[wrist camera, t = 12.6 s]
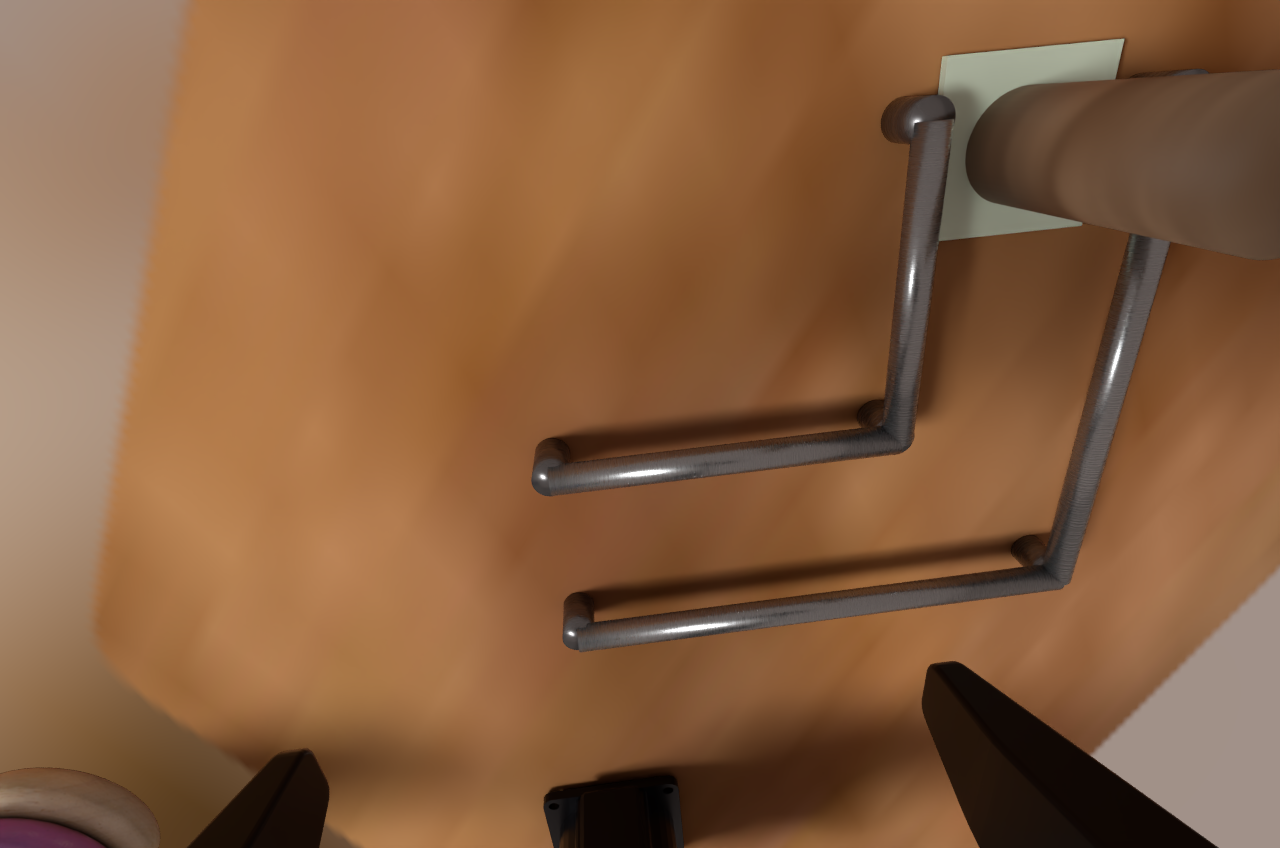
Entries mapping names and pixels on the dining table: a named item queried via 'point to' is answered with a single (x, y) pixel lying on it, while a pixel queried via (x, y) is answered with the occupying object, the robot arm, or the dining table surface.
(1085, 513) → the rails leg
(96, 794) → the stacking toy
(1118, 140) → the walnut peg
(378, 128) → the dining table surface
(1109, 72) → the sage coaster
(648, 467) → the rail leg
